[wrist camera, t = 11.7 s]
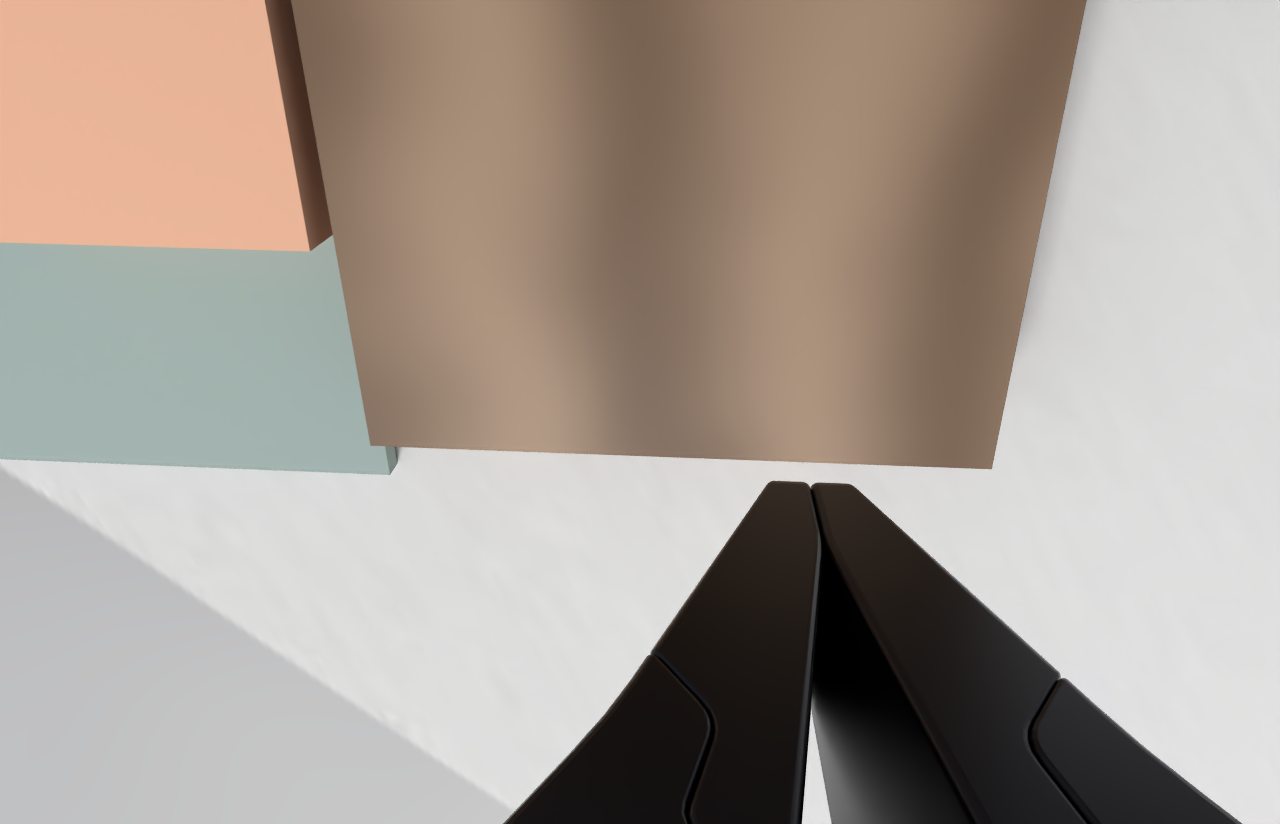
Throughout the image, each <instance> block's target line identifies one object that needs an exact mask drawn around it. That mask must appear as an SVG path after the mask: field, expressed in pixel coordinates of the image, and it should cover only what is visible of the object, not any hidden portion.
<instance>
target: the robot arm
mask: <svg viewBox="0 0 1280 824" xmlns="http://www.w3.org/2000/svg"><path fill="white" fill-rule="evenodd" d="M1060 678H1061V676H1060V673H1059V672H1058V671H1057V670H1056V669H1055V668H1054V667H1053V666H1052V665H1051V664H1049V663H1048V662H1047V661H1046V660H1045V659H1044V658H1043V657H1042V656H1041V655H1039V654H1038V653H1037V652H1036V651H1035V650H1034V649H1033V648H1032V647H1031V646H1030V645H1028V644H1027V643H1026V642H1025V641H1024V640H1023V639H1022V638H1021V637H1020V636H1019V635H1017V634H1016V633H1015V632H1014V631H1013V630H1012V629H1011V628H1010V627H1009V626H1008V625H1006V624H1005V623H1004V622H1003V621H1002V620H1001V619H1000V618H999V617H998V616H996V615H995V614H994V613H993V612H992V611H991V610H990V609H989V608H988V607H987V606H985V605H984V604H983V603H982V602H981V601H980V600H979V599H978V598H977V597H976V596H974V595H973V594H972V593H971V592H970V591H969V590H968V589H967V588H966V587H964V586H963V585H962V584H961V583H960V582H959V581H958V580H957V579H956V578H955V577H953V576H952V575H951V574H950V573H949V572H948V571H947V570H946V569H945V568H944V567H942V566H941V565H940V564H939V563H938V562H937V561H936V560H935V559H934V558H933V557H931V556H930V555H929V554H928V553H927V552H926V551H925V550H924V549H923V548H921V547H920V546H919V545H918V544H917V543H916V542H915V541H914V540H913V539H912V538H910V537H909V536H908V535H907V534H906V533H905V532H904V531H903V530H902V529H901V528H899V527H898V526H897V525H896V524H895V523H894V522H893V521H892V520H891V519H890V518H888V517H887V516H886V515H885V514H884V513H883V512H882V511H881V510H880V509H878V508H877V507H876V506H875V505H874V504H873V503H872V502H871V501H870V500H869V499H867V498H866V497H865V496H864V495H863V494H862V493H861V492H860V491H859V490H858V489H856V488H855V487H854V486H852V485H850V484H841V483H815V484H813V485H812V486H811V488H810V487H809V485H808V484H807V483H804V482H790V481H771V482H769V483H768V484H767V485H766V487H765V488H764V490H763V491H762V492H761V494H760V495H759V497H758V498H757V500H756V501H755V503H754V504H753V505H752V507H751V508H750V510H749V511H748V513H747V514H746V515H745V517H744V518H743V520H742V521H741V523H740V524H739V526H738V527H737V528H736V530H735V531H734V533H733V534H732V536H731V537H730V538H729V540H728V541H727V543H726V544H725V546H724V547H723V549H722V550H721V551H720V553H719V554H718V556H717V557H716V559H715V560H714V561H713V563H712V564H711V566H710V567H709V569H708V570H707V572H706V573H705V574H704V576H703V577H702V579H701V580H700V582H699V583H698V584H697V586H696V587H695V589H694V590H693V592H692V593H691V595H690V596H689V597H688V599H687V600H686V602H685V603H684V605H683V606H682V607H681V609H680V610H679V612H678V613H677V615H676V616H675V618H674V619H673V620H672V622H671V623H670V625H669V626H668V628H667V629H666V630H665V632H664V633H663V635H662V636H661V638H660V639H659V641H658V642H657V643H656V645H655V646H654V648H653V649H652V651H651V655H648V656H647V657H646V659H645V660H644V661H643V663H642V664H641V666H640V667H639V669H638V670H637V672H636V673H635V674H634V676H633V677H632V679H631V680H630V682H629V683H628V684H627V685H626V687H625V688H624V689H623V691H622V692H621V693H620V695H619V696H618V697H617V699H616V700H615V701H614V703H613V704H612V705H611V706H610V708H609V709H608V710H607V712H606V713H605V714H604V716H603V717H602V718H601V719H600V720H599V721H598V722H597V724H596V725H595V726H594V727H593V728H592V729H591V730H590V731H589V733H588V734H587V735H586V736H585V737H584V738H583V739H582V740H581V741H580V743H579V744H578V745H577V746H576V747H575V748H574V749H573V750H572V751H571V753H570V754H569V755H568V756H567V757H566V758H565V759H564V760H563V761H562V762H561V763H560V764H559V765H558V766H557V767H556V769H555V770H554V771H553V772H552V773H551V774H550V775H549V776H548V777H547V778H546V779H545V780H544V781H543V782H542V783H541V784H540V785H539V786H538V787H537V788H536V790H535V791H534V792H533V793H532V794H531V795H530V796H529V797H528V798H527V799H526V800H525V801H524V802H523V803H522V804H521V805H520V806H519V807H518V808H517V809H516V811H515V812H514V813H513V814H512V815H511V816H510V817H509V818H508V819H507V820H506V821H505V822H504V823H503V824H802V813H803V801H804V788H805V776H806V764H807V751H808V739H809V727H810V714H811V708H812V715H813V722H814V727H815V733H816V739H817V744H818V750H819V755H820V761H821V766H822V772H823V778H824V783H825V789H826V794H827V800H828V805H829V811H830V817H831V822H832V824H1242V823H1241V822H1239V821H1238V820H1237V819H1235V818H1234V817H1233V816H1232V815H1230V814H1229V813H1228V812H1226V811H1225V810H1224V809H1222V808H1221V807H1220V806H1218V805H1217V804H1216V803H1215V802H1213V801H1212V800H1211V799H1209V798H1208V797H1207V796H1205V795H1204V794H1203V793H1202V792H1200V791H1199V790H1198V789H1197V788H1195V787H1194V786H1193V785H1192V784H1190V783H1189V782H1188V781H1186V780H1185V779H1184V778H1183V777H1181V776H1180V775H1179V774H1178V773H1176V772H1175V771H1174V770H1173V769H1171V768H1170V767H1169V766H1168V765H1166V764H1165V763H1164V762H1162V761H1161V760H1160V759H1159V758H1157V757H1156V756H1155V755H1154V754H1152V753H1151V752H1150V751H1149V750H1147V749H1146V748H1145V747H1144V746H1143V745H1141V744H1140V743H1139V742H1138V741H1137V740H1136V739H1134V738H1133V737H1132V736H1131V735H1130V734H1129V733H1127V732H1126V731H1125V730H1124V729H1123V728H1122V727H1121V726H1119V725H1118V724H1117V723H1116V722H1115V721H1114V720H1112V719H1111V718H1110V717H1109V716H1108V715H1107V714H1105V713H1104V712H1103V711H1102V710H1101V709H1100V708H1099V707H1097V706H1096V705H1095V704H1094V703H1093V702H1092V701H1091V700H1090V699H1089V698H1087V697H1086V696H1085V695H1084V694H1083V693H1082V692H1081V691H1080V690H1079V689H1077V688H1076V687H1075V686H1074V685H1073V684H1072V683H1071V682H1070V681H1069V680H1067V679H1065V678H1062V679H1060Z"/></svg>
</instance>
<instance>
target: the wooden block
mask: <svg viewBox="0 0 1280 824" xmlns="http://www.w3.org/2000/svg"><path fill="white" fill-rule="evenodd" d="M291 3H292V8H293V14H294V20H295V25H296V31H297V37H298V42H299V48H300V53H301V59H302V65H303V70H304V76H305V81H306V87H307V93H308V98H309V104H310V109H311V115H312V121H313V126H314V132H315V138H316V143H317V149H318V154H319V160H320V166H321V171H322V177H323V182H324V188H325V194H326V199H327V205H328V210H329V216H330V222H331V227H332V233H333V239H334V244H335V250H336V255H337V261H338V267H339V272H340V278H341V283H342V289H343V295H344V300H345V306H346V311H347V317H348V323H349V328H350V334H351V340H352V345H353V351H354V356H355V362H356V368H357V373H358V379H359V384H360V390H361V396H362V401H363V407H364V412H365V418H366V424H367V429H368V435H369V441H370V446H390V447H417V448H443V449H470V450H496V451H523V452H549V453H576V454H603V455H629V456H656V457H682V458H709V459H735V460H762V461H789V462H815V463H842V464H868V465H895V466H922V467H948V468H975V469H992V465H993V460H994V455H995V450H996V445H997V440H998V435H999V430H1000V425H1001V420H1002V415H1003V410H1004V405H1005V400H1006V395H1007V390H1008V386H1009V381H1010V376H1011V371H1012V366H1013V361H1014V356H1015V351H1016V346H1017V341H1018V336H1019V331H1020V326H1021V321H1022V316H1023V311H1024V306H1025V301H1026V296H1027V291H1028V286H1029V282H1030V277H1031V272H1032V267H1033V262H1034V257H1035V252H1036V247H1037V242H1038V237H1039V232H1040V227H1041V222H1042V217H1043V212H1044V207H1045V202H1046V197H1047V192H1048V187H1049V182H1050V178H1051V173H1052V168H1053V163H1054V158H1055V153H1056V148H1057V143H1058V138H1059V133H1060V128H1061V123H1062V118H1063V113H1064V108H1065V103H1066V98H1067V93H1068V88H1069V83H1070V78H1071V74H1072V69H1073V64H1074V59H1075V54H1076V49H1077V44H1078V39H1079V34H1080V29H1081V24H1082V19H1083V14H1084V9H1085V4H1086V0H291Z"/></svg>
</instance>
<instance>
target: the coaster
mask: <svg viewBox="0 0 1280 824" xmlns="http://www.w3.org/2000/svg"><path fill="white" fill-rule="evenodd" d="M332 235H333V233H332V227H331V222H330V216H329V210H328V205H327V199H326V194H325V188H324V182H323V177H322V171H321V166H320V160H319V154H318V149H317V143H316V138H315V132H314V126H313V121H312V115H311V109H310V104H309V98H308V93H307V87H306V81H305V76H304V70H303V65H302V59H301V53H300V48H299V42H298V37H297V31H296V25H295V20H294V14H293V8H292V3H291V0H0V242H1V243H35V244H69V245H103V246H137V247H171V248H206V249H240V250H274V251H308V252H310V251H311V250H313V249H314V248H316V247H317V246H318V245H320V244H321V243H322V242H324V241H325V240H326V239H328V238H329V237H330V236H332Z"/></svg>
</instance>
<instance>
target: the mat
mask: <svg viewBox="0 0 1280 824" xmlns="http://www.w3.org/2000/svg"><path fill="white" fill-rule="evenodd" d="M0 459H12V460H36V461H61V462H86V463H110V464H135V465H160V466H184V467H209V468H234V469H258V470H283V471H308V472H332V473H357V474H382V475H390V474H391V472H392V471H393V469H394V468H395V466H396V464H397V457H396V451H395V447H390V446H370V441H369V435H368V429H367V424H366V418H365V412H364V407H363V401H362V396H361V390H360V384H359V379H358V373H357V368H356V362H355V356H354V351H353V345H352V340H351V334H350V328H349V323H348V317H347V311H346V306H345V300H344V295H343V289H342V283H341V278H340V272H339V267H338V261H337V255H336V250H335V244H334V239H333V235H332V236H330V237H329V238H328V239H326V240H325V241H324V242H322V243H321V244H320V245H318V246H317V247H316V248H314V249H313V250H311V251H310V252H308V251H274V250H240V249H206V248H171V247H137V246H103V245H69V244H35V243H1V242H0Z"/></svg>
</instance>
